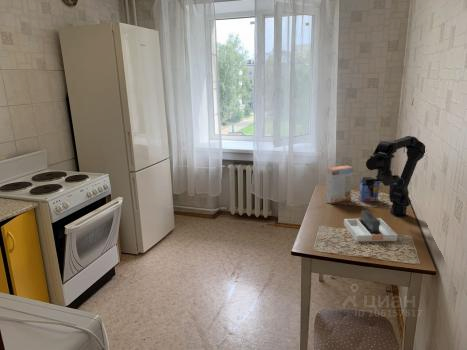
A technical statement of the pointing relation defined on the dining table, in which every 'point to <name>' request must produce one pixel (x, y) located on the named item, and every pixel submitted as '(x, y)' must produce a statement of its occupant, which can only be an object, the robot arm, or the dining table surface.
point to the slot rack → (363, 234)
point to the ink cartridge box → (368, 192)
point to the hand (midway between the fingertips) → (381, 197)
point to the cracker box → (339, 184)
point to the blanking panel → (370, 222)
